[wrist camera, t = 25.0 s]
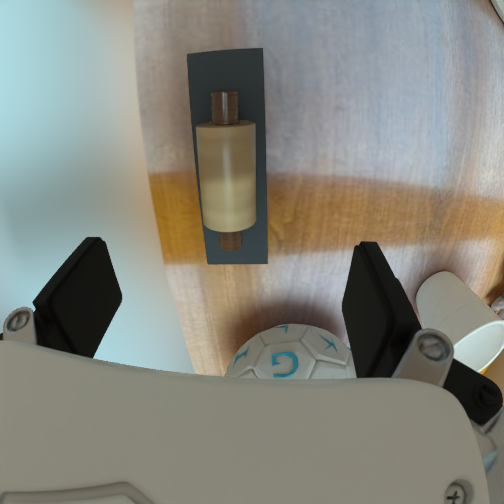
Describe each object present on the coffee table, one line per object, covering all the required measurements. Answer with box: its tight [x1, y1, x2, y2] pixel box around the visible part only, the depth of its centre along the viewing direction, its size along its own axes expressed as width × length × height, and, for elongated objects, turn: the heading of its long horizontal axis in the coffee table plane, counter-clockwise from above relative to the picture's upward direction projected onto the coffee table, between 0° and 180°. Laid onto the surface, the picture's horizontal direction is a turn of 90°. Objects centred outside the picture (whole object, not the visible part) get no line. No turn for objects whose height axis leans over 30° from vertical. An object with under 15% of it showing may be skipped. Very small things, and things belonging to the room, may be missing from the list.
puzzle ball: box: [225, 324, 357, 379], centre depth 29 cm, size 15×15×15 cm
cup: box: [416, 271, 504, 373], centre depth 26 cm, size 10×10×11 cm
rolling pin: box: [196, 91, 256, 252], centre depth 22 cm, size 13×4×4 cm, turn 1°
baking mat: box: [187, 48, 268, 264], centre depth 24 cm, size 20×6×1 cm, turn 2°
